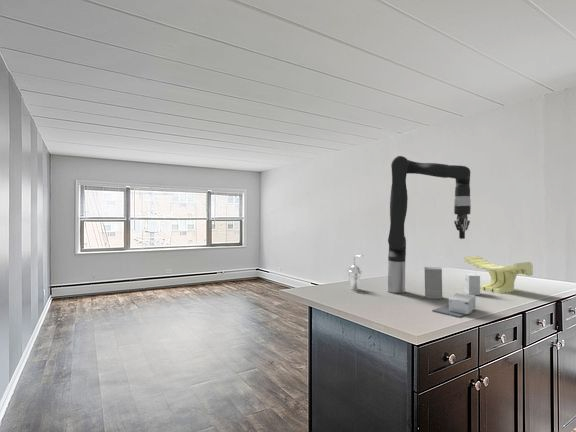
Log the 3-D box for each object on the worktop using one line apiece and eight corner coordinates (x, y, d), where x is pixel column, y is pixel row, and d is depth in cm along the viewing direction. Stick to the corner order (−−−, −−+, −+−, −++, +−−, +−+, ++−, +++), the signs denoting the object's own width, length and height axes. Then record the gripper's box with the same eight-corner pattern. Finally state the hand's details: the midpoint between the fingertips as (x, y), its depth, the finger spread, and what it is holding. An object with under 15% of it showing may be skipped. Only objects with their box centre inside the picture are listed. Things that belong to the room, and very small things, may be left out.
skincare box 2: (457, 304, 164) (447, 311, 153) (457, 292, 164) (447, 298, 153) (476, 307, 159) (468, 315, 147) (476, 294, 158) (468, 301, 147)
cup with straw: (352, 286, 205) (352, 253, 205) (365, 289, 199) (365, 254, 199) (344, 289, 199) (344, 254, 199) (357, 291, 193) (357, 255, 193)
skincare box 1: (441, 296, 182) (441, 266, 182) (442, 300, 175) (442, 268, 175) (424, 295, 185) (424, 265, 185) (424, 298, 178) (424, 267, 178)
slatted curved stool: (532, 293, 191) (532, 261, 190) (516, 296, 183) (516, 263, 183) (480, 283, 217) (480, 255, 217) (464, 286, 210) (464, 256, 209)
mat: (449, 305, 164) (449, 304, 164) (476, 311, 155) (476, 309, 155) (432, 311, 154) (432, 310, 154) (459, 317, 145) (459, 316, 145)
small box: (480, 295, 186) (480, 276, 186) (468, 294, 187) (469, 275, 187) (475, 292, 193) (475, 273, 193) (464, 291, 195) (464, 273, 195)
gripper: (460, 205, 186) (460, 237, 186) (449, 205, 177) (448, 238, 177) (475, 205, 180) (475, 238, 180) (463, 204, 171) (463, 239, 172)
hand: (462, 238), depth 179 cm, fingers closed
